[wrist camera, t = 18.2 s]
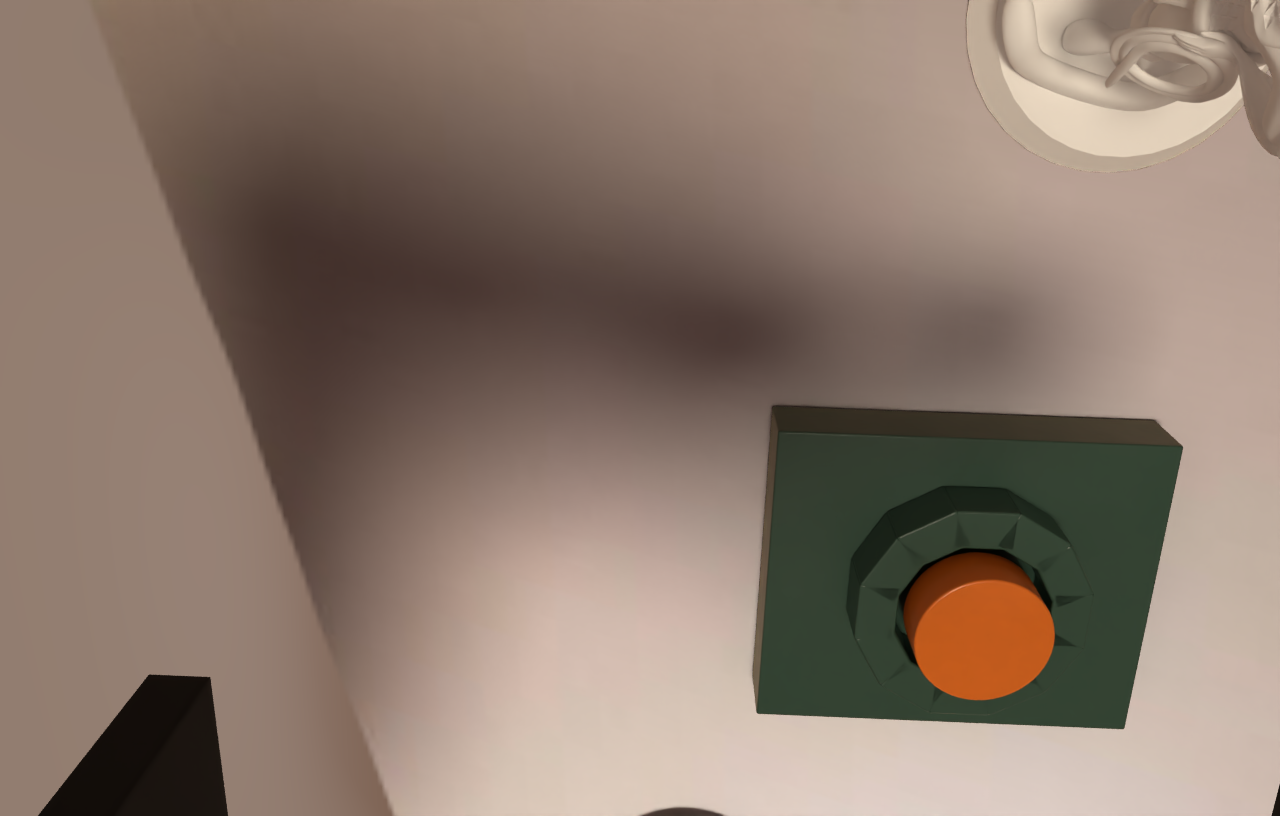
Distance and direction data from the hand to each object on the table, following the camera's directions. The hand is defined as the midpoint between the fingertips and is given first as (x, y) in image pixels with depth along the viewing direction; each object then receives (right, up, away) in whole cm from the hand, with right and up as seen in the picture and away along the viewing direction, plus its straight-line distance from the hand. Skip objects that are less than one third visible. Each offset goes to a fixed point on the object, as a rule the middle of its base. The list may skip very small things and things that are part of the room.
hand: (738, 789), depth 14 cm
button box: (+9, 0, +24) cm, 25 cm away
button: (+9, -1, +21) cm, 22 cm away
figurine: (+12, +16, +18) cm, 27 cm away
